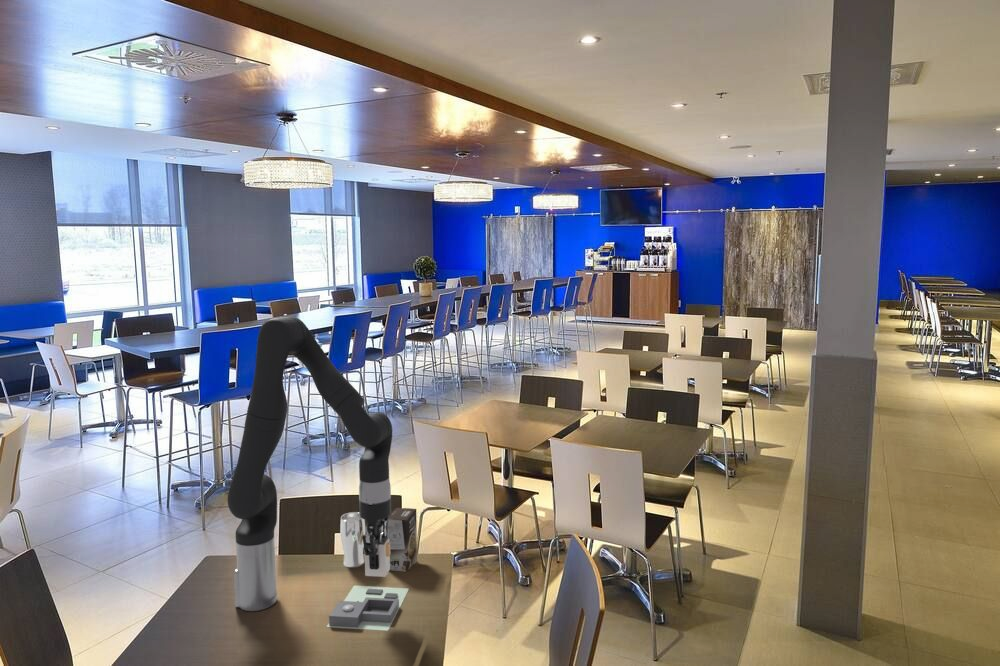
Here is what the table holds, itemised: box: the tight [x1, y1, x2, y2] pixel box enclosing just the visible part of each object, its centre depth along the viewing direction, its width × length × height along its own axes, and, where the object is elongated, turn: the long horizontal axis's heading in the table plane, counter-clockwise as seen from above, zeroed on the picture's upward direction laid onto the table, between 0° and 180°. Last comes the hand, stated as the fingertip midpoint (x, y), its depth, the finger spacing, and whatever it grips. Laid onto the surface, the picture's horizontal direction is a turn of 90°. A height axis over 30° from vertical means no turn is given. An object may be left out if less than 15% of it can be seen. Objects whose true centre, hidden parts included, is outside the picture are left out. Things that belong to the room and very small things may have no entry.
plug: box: [363, 537, 391, 578], centre depth 161 cm, size 6×4×8 cm
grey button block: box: [328, 600, 367, 628], centre depth 163 cm, size 7×11×3 cm, turn 174°
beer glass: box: [339, 511, 366, 568], centre depth 190 cm, size 7×7×15 cm
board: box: [326, 585, 410, 632], centre depth 166 cm, size 15×20×3 cm
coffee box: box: [387, 507, 418, 573], centre depth 189 cm, size 9×6×16 cm
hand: (377, 564), depth 162 cm, fingers closed on plug, 4 cm apart
